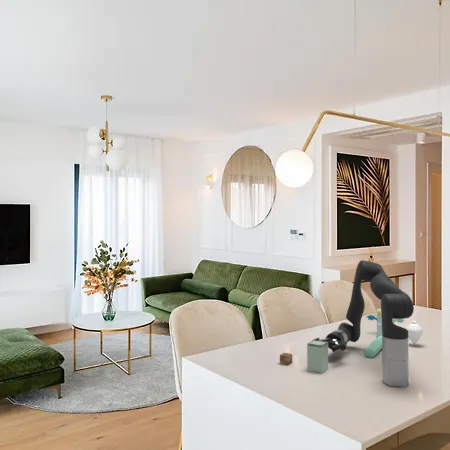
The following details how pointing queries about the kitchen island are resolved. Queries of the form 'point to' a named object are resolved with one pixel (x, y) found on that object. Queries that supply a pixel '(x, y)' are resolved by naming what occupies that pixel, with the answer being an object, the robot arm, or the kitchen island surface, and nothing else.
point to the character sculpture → (379, 320)
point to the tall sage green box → (317, 356)
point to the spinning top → (414, 332)
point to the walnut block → (286, 359)
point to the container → (374, 347)
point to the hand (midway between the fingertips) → (323, 348)
